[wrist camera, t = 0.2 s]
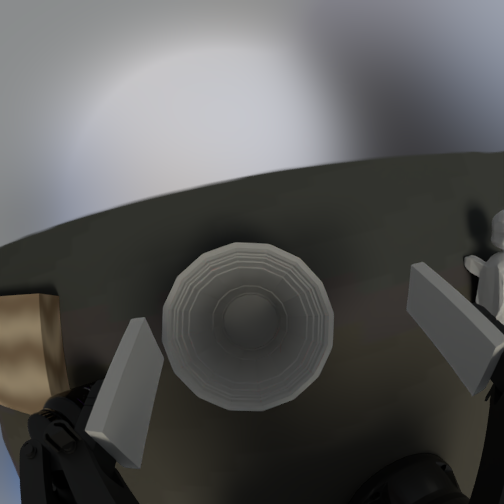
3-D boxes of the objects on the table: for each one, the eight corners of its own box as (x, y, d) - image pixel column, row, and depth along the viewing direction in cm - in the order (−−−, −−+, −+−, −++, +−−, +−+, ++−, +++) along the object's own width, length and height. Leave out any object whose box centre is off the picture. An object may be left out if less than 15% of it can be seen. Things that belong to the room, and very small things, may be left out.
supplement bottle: (125, 378, 27) (62, 406, 16) (139, 433, 26) (88, 480, 14) (78, 379, 27) (11, 399, 16) (92, 430, 26) (35, 465, 14)
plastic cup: (292, 383, 27) (312, 428, 15) (189, 358, 28) (146, 387, 16) (317, 281, 29) (353, 261, 17) (214, 257, 30) (185, 223, 18)
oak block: (75, 413, 26) (57, 421, 22) (7, 396, 26) (-10, 400, 22) (58, 296, 29) (38, 293, 25) (-5, 300, 29) (-23, 297, 25)
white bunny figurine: (493, 310, 30) (502, 207, 28) (529, 330, 22) (545, 212, 19) (455, 320, 30) (464, 206, 28) (493, 347, 22) (511, 211, 19)
